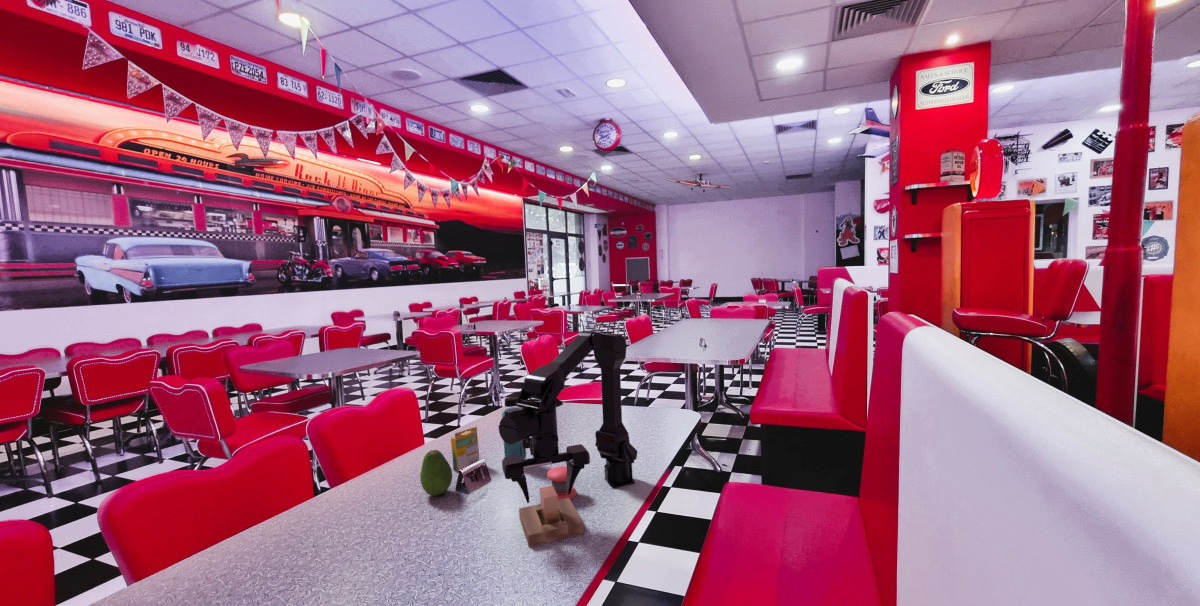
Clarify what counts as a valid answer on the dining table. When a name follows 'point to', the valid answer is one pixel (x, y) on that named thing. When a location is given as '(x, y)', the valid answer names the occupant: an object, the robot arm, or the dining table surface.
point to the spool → (560, 482)
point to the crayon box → (465, 448)
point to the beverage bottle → (516, 447)
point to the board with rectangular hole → (551, 532)
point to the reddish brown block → (549, 505)
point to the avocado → (435, 473)
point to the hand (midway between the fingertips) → (548, 497)
